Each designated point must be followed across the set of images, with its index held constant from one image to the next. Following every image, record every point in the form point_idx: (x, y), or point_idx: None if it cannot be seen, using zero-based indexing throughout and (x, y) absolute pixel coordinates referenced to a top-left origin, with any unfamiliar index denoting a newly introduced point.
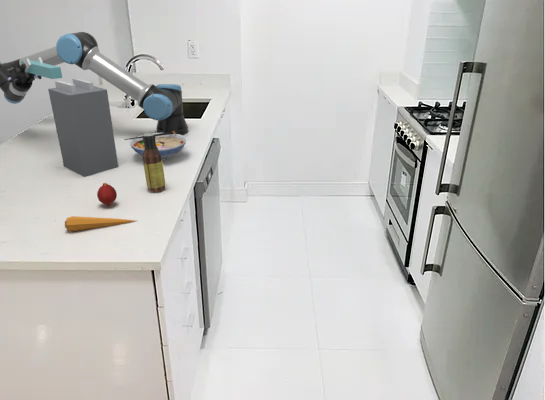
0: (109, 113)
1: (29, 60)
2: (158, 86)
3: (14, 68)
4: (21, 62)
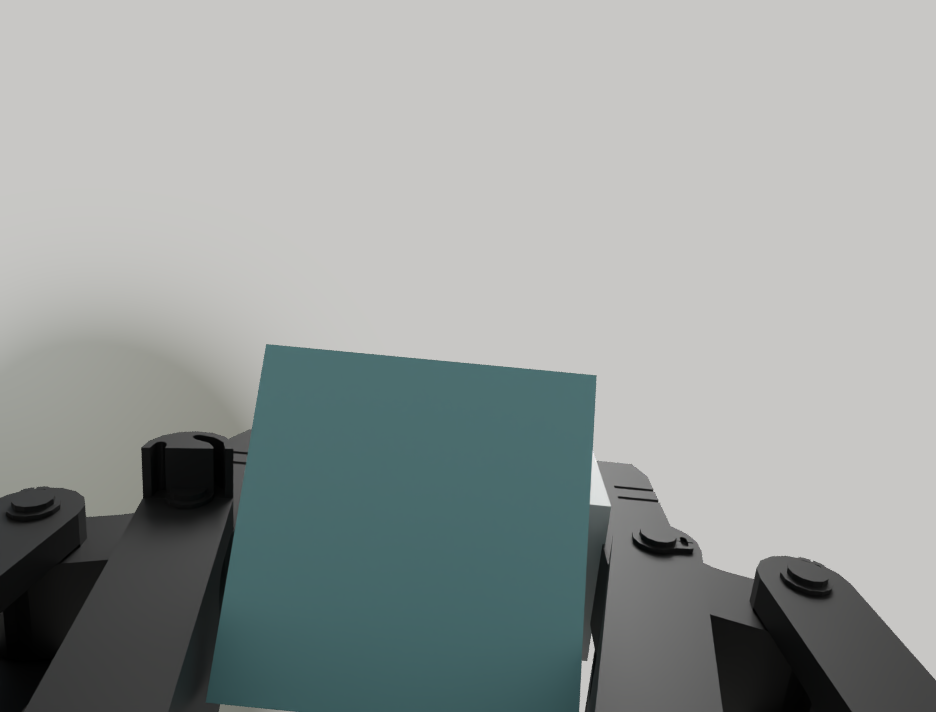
0: None
1: (342, 359)
2: None
3: (841, 601)
4: (591, 420)
